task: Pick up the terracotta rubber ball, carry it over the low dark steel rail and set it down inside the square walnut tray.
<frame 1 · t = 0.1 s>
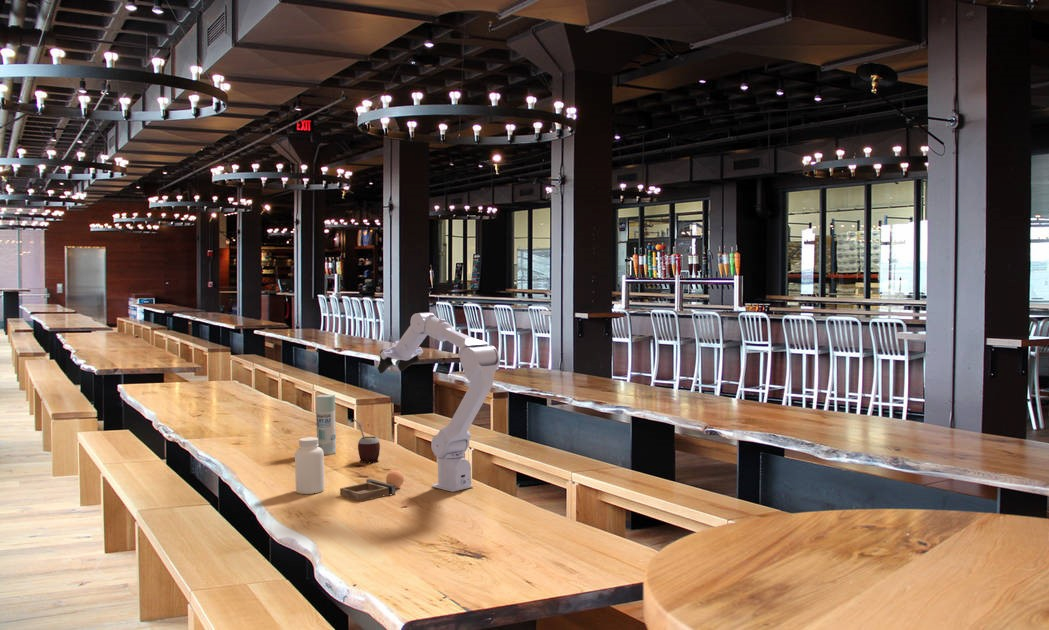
hand: (389, 369, 267), 32 cm above the table, tool tilted 50°, fingers open, 7 cm apart
pill bottle: (310, 491, 246), on the table
spray paint can: (326, 453, 300), on the table
mate gourd: (368, 462, 284), on the table
ball: (395, 487, 249), on the table
rail: (380, 491, 245), on the table
tray: (364, 495, 241), on the table
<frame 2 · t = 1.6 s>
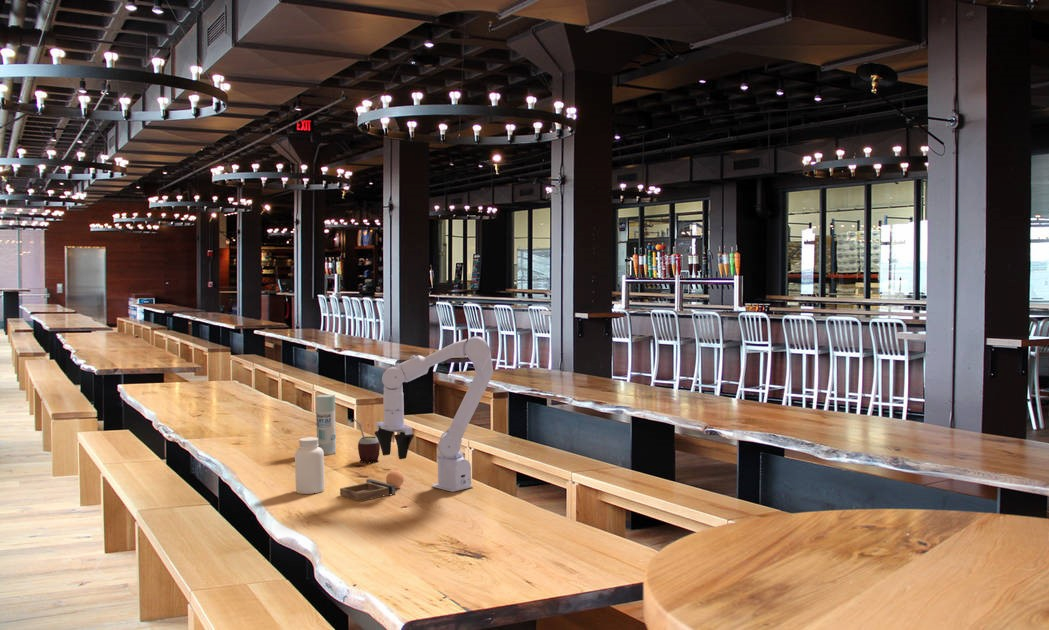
hand: (394, 456, 248), 9 cm above the table, tool pointing down, fingers open, 7 cm apart
nothing on the table moved.
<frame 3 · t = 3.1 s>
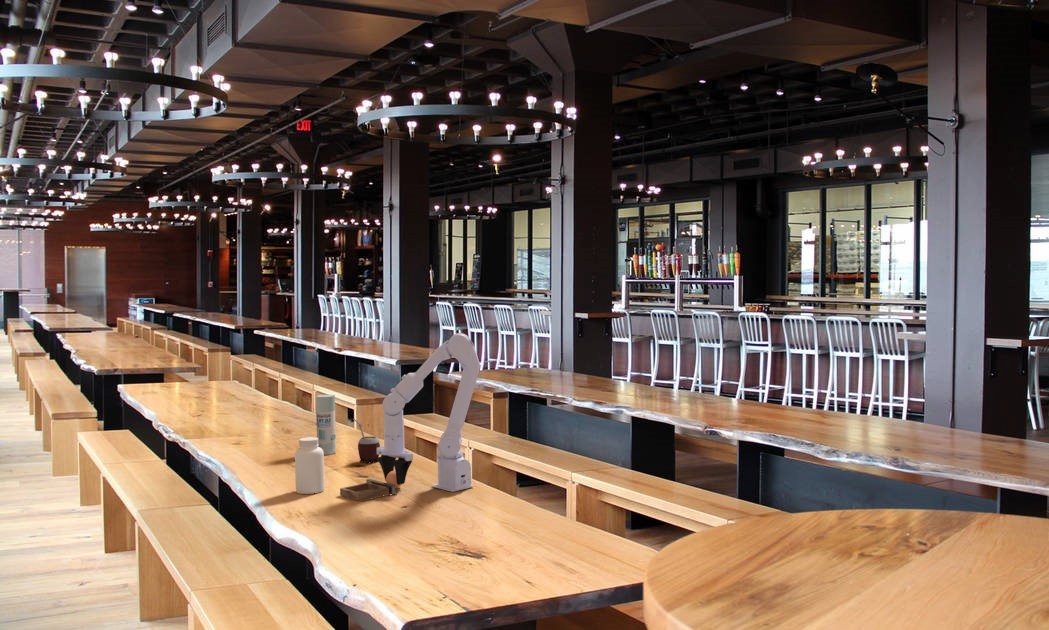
hand: (394, 482, 249), 2 cm above the table, tool pointing down, fingers closed on ball, 5 cm apart
ball: (395, 487, 249), on the table, touching gripper
everything else where it was.
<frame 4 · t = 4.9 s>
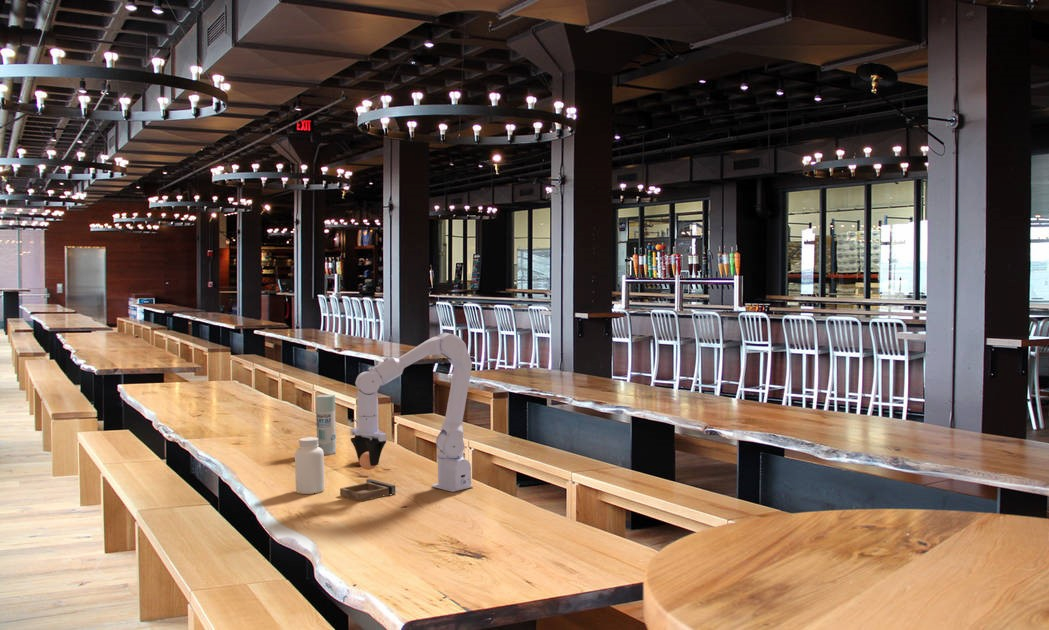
hand: (368, 463, 241), 9 cm above the table, tool pointing down, fingers closed on ball, 5 cm apart
ball: (368, 469, 242), point 7 cm above the table, touching gripper
everything else where it was.
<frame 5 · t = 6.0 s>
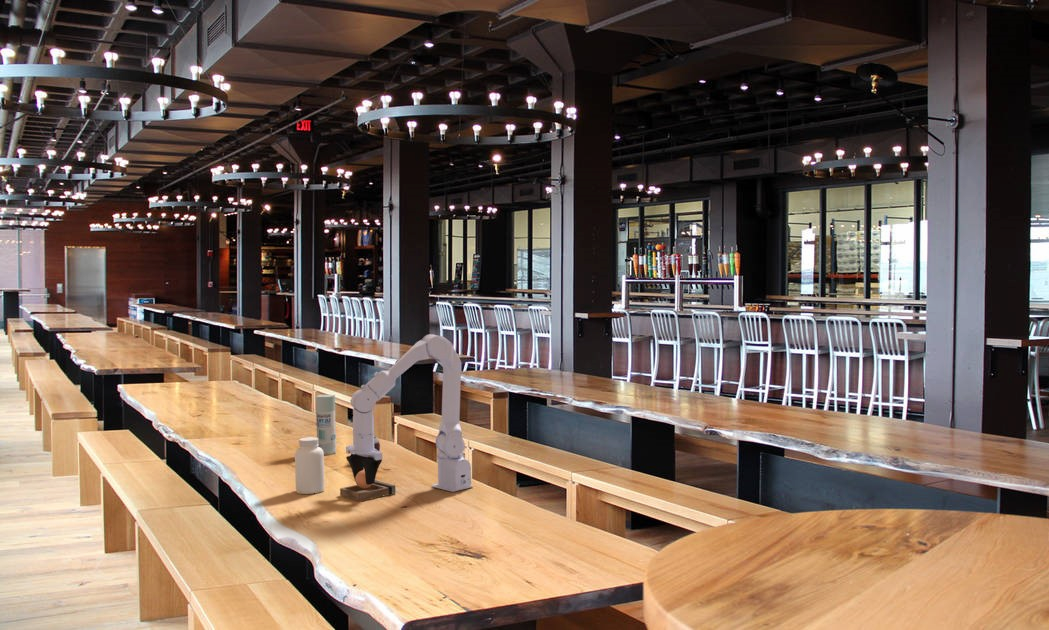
hand: (364, 482, 240), 4 cm above the table, tool pointing down, fingers closed on ball, 5 cm apart
ball: (364, 488, 241), point 2 cm above the table, touching gripper
everything else where it was.
when the fingers open (4 cm above the table, at t = 6.9 s): ball drops 2 cm, resting on tray.
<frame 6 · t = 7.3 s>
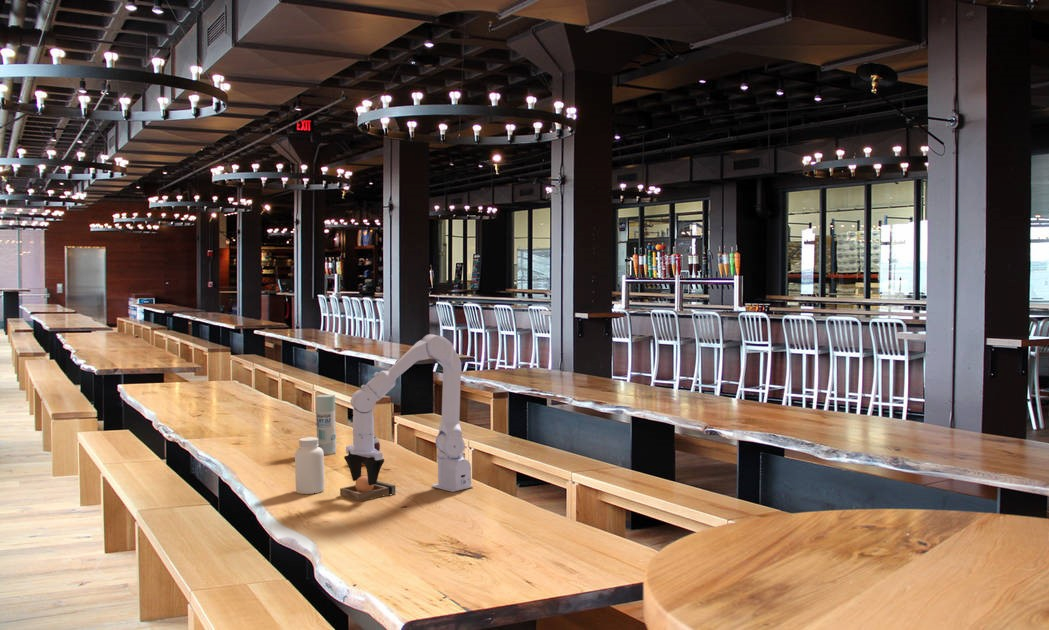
hand: (364, 482, 240), 4 cm above the table, tool pointing down, fingers open, 7 cm apart
ball: (364, 493, 241), resting on tray
everything else where it was.
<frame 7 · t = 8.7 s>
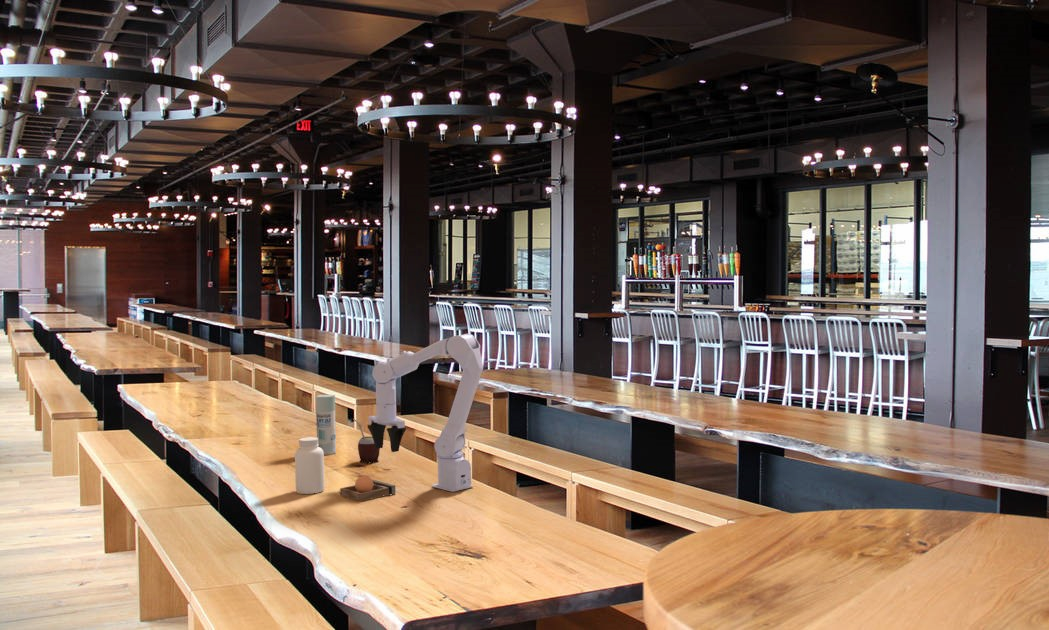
hand: (387, 449, 254), 10 cm above the table, tool pointing down, fingers open, 7 cm apart
nothing on the table moved.
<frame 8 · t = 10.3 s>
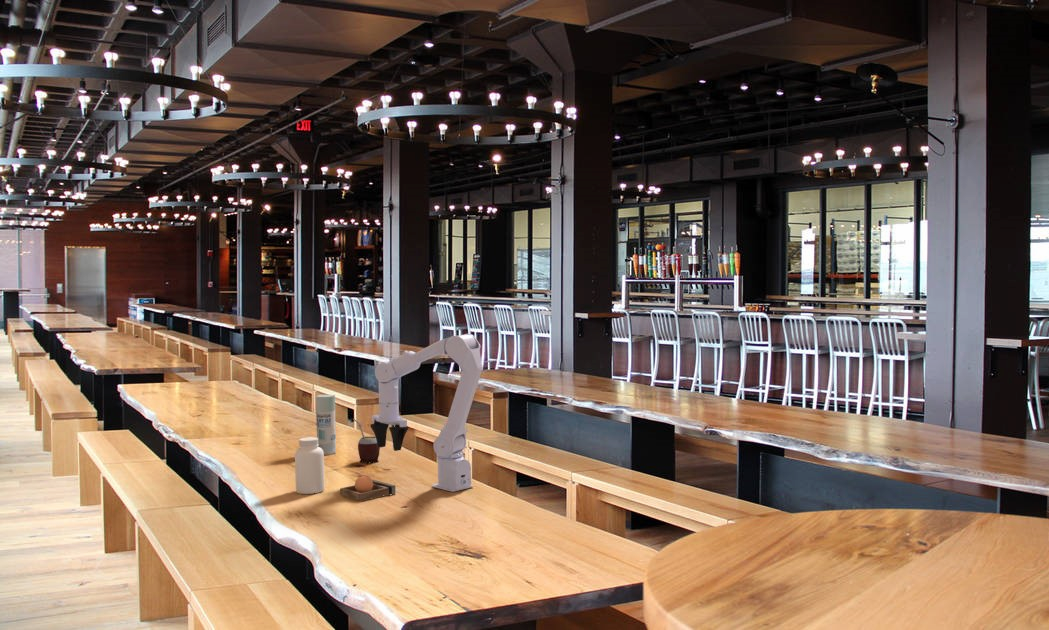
hand: (389, 448, 256), 10 cm above the table, tool pointing down, fingers open, 7 cm apart
nothing on the table moved.
at the end: ball inside the target area on the tray (0.0 cm from its centre), point 0.4 cm above the tray's base; the gripper is holding nothing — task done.
